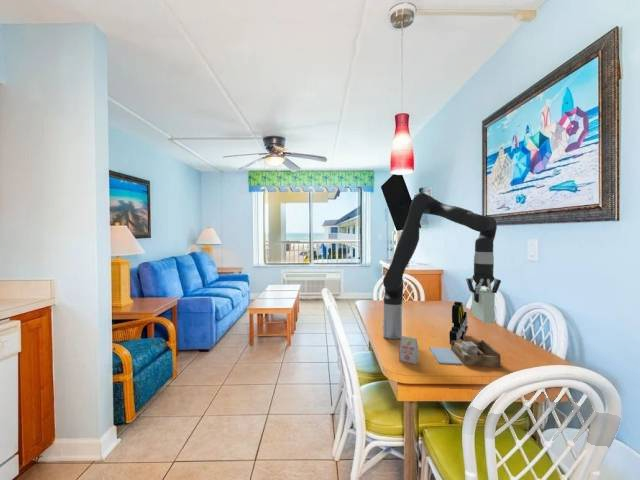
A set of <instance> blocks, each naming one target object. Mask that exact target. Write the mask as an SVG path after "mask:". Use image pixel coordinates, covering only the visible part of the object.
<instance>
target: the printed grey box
mask: <svg viewBox="0 0 640 480" xmlns="http://www.w3.org/2000/svg"><path fill="white" fill-rule="evenodd" d="M399 339H400V340H399V346H398V361H399V362H403V363H406V364H411V365H417V363H418V362H419V345H418V344H419V343H418V339H417V338H414V337H410V336H409V337H408V336H404V335H402V336H401V338H399Z"/></svg>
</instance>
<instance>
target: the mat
mask: <svg viewBox="0 0 640 480" xmlns="http://www.w3.org/2000/svg"><path fill="white" fill-rule="evenodd" d="M428 349H429V350H430V352H431V353H432V355H433V356H434V358H435V360H436V361H437V363H438V364H440V365H460V366H462V365H463V363H462V362H461V361H460V359H459V358H458V357H457V356H456V355H455V353H454V352H453V351H452V350H451V347H450V348H449V347H430V346H429V348H428Z"/></svg>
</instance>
